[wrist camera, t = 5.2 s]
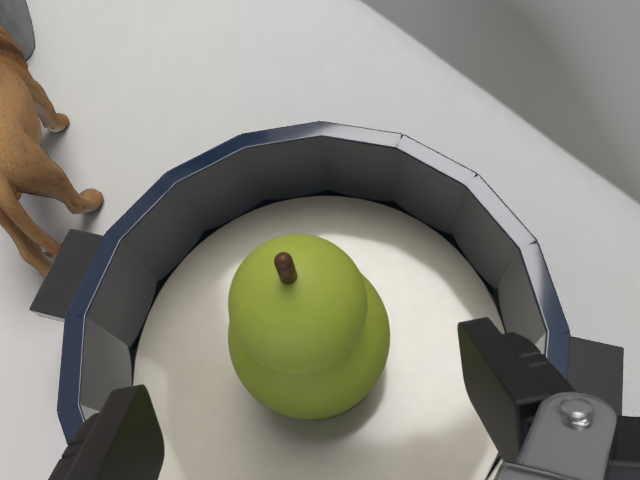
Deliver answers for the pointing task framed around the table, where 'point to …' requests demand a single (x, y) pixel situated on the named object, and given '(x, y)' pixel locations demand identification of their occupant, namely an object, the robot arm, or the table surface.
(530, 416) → the robot arm
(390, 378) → the pot
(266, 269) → the pear
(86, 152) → the table surface
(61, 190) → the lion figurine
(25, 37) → the hip flask
